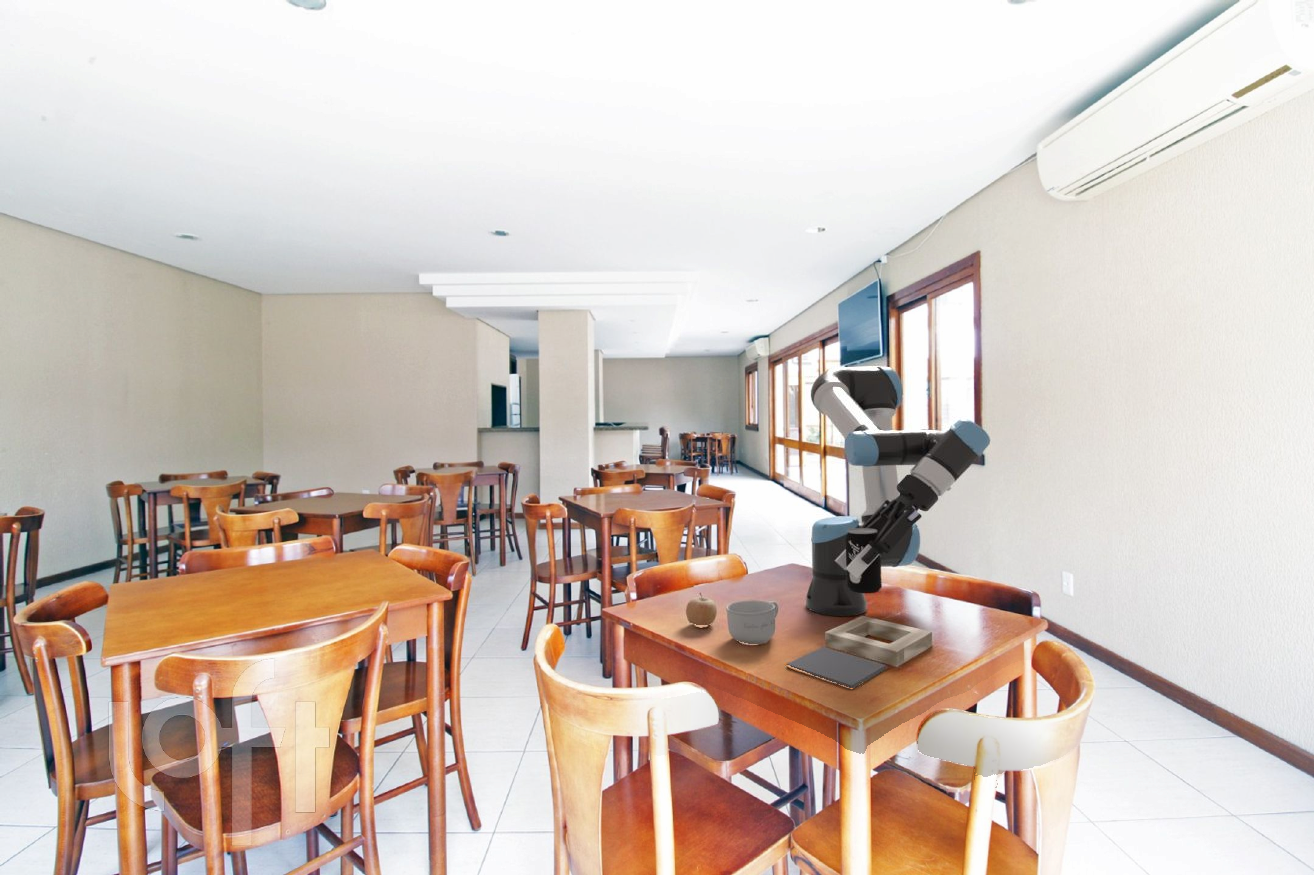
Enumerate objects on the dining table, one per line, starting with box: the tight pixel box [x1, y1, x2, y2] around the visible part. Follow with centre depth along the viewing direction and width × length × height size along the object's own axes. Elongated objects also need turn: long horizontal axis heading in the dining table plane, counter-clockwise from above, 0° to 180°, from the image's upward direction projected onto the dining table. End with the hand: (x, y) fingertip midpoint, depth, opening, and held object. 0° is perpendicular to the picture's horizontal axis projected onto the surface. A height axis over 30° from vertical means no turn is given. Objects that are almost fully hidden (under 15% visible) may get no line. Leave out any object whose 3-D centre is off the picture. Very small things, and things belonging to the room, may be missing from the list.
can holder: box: [824, 615, 933, 668], centre depth 129 cm, size 16×16×3 cm
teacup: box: [725, 600, 779, 645], centre depth 134 cm, size 14×11×8 cm
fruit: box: [685, 592, 718, 625], centre depth 144 cm, size 8×7×8 cm
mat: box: [786, 646, 887, 689], centre depth 117 cm, size 14×13×1 cm
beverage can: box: [845, 528, 883, 594], centre depth 120 cm, size 7×7×12 cm
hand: (845, 569), depth 120 cm, fingers closed on beverage can, 6 cm apart
